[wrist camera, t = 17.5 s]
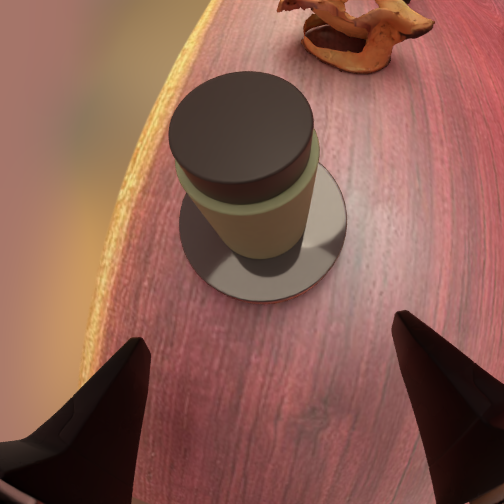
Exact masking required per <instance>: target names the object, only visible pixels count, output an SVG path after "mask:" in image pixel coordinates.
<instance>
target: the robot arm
mask: <svg viewBox="0 0 504 504" xmlns="http://www.w3.org/2000/svg"><path fill="white" fill-rule="evenodd" d="M392 337H393V341H394V345H395V349H396V353H397V358H398V362H399V366H400V370H401V374H402V377H403V380H404V383H405V386H406V389H407V392H408V395H409V398H410V401H411V404H412V408H413V411H414V414H415V417H416V421H417V424H418V428H419V431H420V435H421V439H422V442H423V446H424V450H425V454H426V458H427V462H428V466H429V471H430V475H431V480H432V484H433V489H434V494H435V499H436V504H465V503H467V502H469V504H504V384H503V383H501V382H500V381H498V380H497V379H496V378H494V377H493V376H491V375H490V374H489V373H487V372H486V371H485V370H484V369H482V368H481V367H480V366H478V365H477V364H476V363H474V362H473V361H472V360H471V359H470V358H468V357H467V356H466V355H465V354H463V353H462V352H461V351H460V350H458V349H457V348H456V347H455V346H453V345H452V344H451V343H449V342H448V341H447V340H446V339H444V338H443V337H442V336H440V335H439V334H438V333H437V332H435V331H434V330H433V329H431V328H430V327H429V326H427V325H426V324H425V323H424V322H422V321H421V320H420V319H418V318H417V317H416V316H414V315H413V314H412V313H410V312H409V311H407V310H402V311H397V312H396V313H395V316H394V320H393V324H392ZM150 363H151V353H150V351H149V349H148V347H147V345H146V343H145V341H144V340H143V338H141V337H133V338H130V339H129V340H128V341H127V342H126V343H125V344H124V345H123V346H122V347H121V348H120V349H119V350H118V351H117V352H116V353H115V354H114V355H113V356H112V357H111V358H110V359H109V360H108V361H107V362H106V363H105V364H104V365H103V366H102V367H101V368H100V369H99V370H98V371H97V372H96V373H95V374H94V375H93V376H92V377H91V378H90V379H89V380H88V381H87V382H86V383H85V384H84V385H83V386H82V387H81V388H80V389H79V390H78V391H77V392H76V394H74V396H73V397H72V398H71V399H70V400H69V401H68V402H67V403H66V404H65V405H64V406H63V407H62V408H61V409H60V410H58V411H57V412H56V413H55V414H54V415H53V416H52V417H51V418H50V419H49V420H47V421H46V422H45V423H44V424H43V425H41V426H40V427H39V428H38V429H37V430H36V431H35V432H33V433H32V434H31V435H29V436H28V437H26V438H24V439H21V440H16V441H8V442H0V504H131V500H132V492H133V488H132V487H133V482H134V475H135V467H136V460H137V453H138V447H139V440H140V434H141V428H142V422H143V417H144V411H145V406H146V400H147V395H148V386H149V374H150Z"/></svg>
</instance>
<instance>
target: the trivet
mask: <svg viewBox="0 0 504 504" xmlns="http://www.w3.org/2000/svg"><path fill="white" fill-rule="evenodd" d="M346 229H347V212H346V206H345V202H344V199H343V196H342V193H341V191H340V189H339V186H338V184H337V183H336V181H335V180H334V178H333V177H332V175H331V174H330V173H329V172H328V171H327V169H326V168H325V167H324V166H323V165H322V164H320V163H319V162H318V168H317V173H316V178H315V183H314V189H313V194H312V199H311V204H310V209H309V214H308V218H307V223H306V227H305V230H304V232H303V234H302V236H301V238H300V239H299V241H298V242H297V243H296V244H295V245H294V246H293V247H292V248H291V249H289V250H288V251H286V252H285V253H283V254H281V255H279V256H276V257H273V258H268V259H252V258H248V257H245V256H242V255H240V254H238V253H236V252H234V251H233V250H231V249H230V248H229V247H228V246H227V245H226V244H225V243H224V241H223V240H222V239H221V237H220V236H219V235H218V234H217V232H216V231H215V230H214V228H213V227H212V226H211V224H210V223H209V222H208V220H207V219H206V218H205V216H204V215H203V214H202V212H201V211H200V210H199V208H198V207H197V206H196V204H195V203H194V202H193V201H192V199H191V198H190V197H189V195H188V194H187V193H186V194H185V196H184V199H183V202H182V206H181V210H180V217H179V232H180V239H181V243H182V247H183V250H184V252H185V255H186V257H187V259H188V261H189V263H190V264H191V266H192V267H193V269H194V270H195V271H196V273H197V274H198V275H199V276H200V277H201V278H202V279H203V280H204V281H205V282H206V283H207V284H208V285H210V286H211V287H213V288H214V289H216V290H217V291H219V292H221V293H223V294H225V295H227V296H229V297H232V298H234V299H237V300H240V301H243V302H247V303H252V304H276V303H280V302H285V301H288V300H291V299H293V298H296V297H298V296H300V295H302V294H304V293H306V292H307V291H308V290H310V289H311V288H313V287H314V286H315V285H316V284H317V283H318V282H319V281H320V280H321V279H322V278H323V277H324V276H325V275H326V274H327V272H328V271H329V270H330V269H331V267H332V266H333V265H334V263H335V261H336V260H337V258H338V256H339V254H340V252H341V249H342V247H343V244H344V240H345V236H346Z"/></svg>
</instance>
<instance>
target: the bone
mask: <svg viewBox="0 0 504 504" xmlns="http://www.w3.org/2000/svg"><path fill="white" fill-rule="evenodd" d="M347 1H348V0H280V2H279V4H278V8H277V12H280V11H281V12H282V11H283V10H285V11H287V10H288V11H291V10H294V9H299V8H300V7H301V8H302V9H303V10H305V9H306V8H311V10H312V11H313V12H314V13H315V14H312V15H311V16H310V17H309V18H308V19H306V21H305V24H304V26H303V30H304V39H303V40H301V43H302V44H303V46H304V47H305V50H306V51H307V52H309V53H310V54H312V55H314V56H315V57H317V58H318V59H319V60H320V61H321V62H324V63H327V64H329V65H331V66H335V67H337V68H339V69H343V70H345V71H348V72H352V73H356V74H357V73H363V74H364V73H365V74H369V73H372V72H376V71H379V70H381V69H383V68H384V67H386V66H387V64H388V65H389V63H390V61H391V60H390V59H391V53H392V48H393V46H394V45H395V44H397V43H399V42H402V41H404V40H405V39H409V38H412V39H415V38H418V37H420V36H422V35H424V34H426V33H428V32H429V31H430V30H432V28H433V24H435V21H432V20H431V19H427V18H425V17H423V16H421V15H419V14H418V13H416V12H415V11H413V10H412V9H410V8H409V7H408V6H407V5H406V4H405V2H404V1H403V0H375V1H376V3H377V4H378V5H379V8H377V9H374V10H372V11H370V12H368V13H367V14H364V15H362V16H361V17H359V18H355V17H353V16H350V15H349V14H348V13H346V12H345V11H346V9H345V4H344V3H345V2H347ZM328 24H329V25H330V26H331V27H332V28H334V29H336V31H340V32H342V33H344V34H345V35H347V36H349V37H350V36H351V37H356V38H360V39H363V40H364V39H366V46H365V47H364V49H363V51H362V52H360V53H352V52H351V51H350V50H349V51H348V52H341V51H336V50H332V49H328V48H321V47H319V48H318V47H316V46H315V45H313V42H312V41H311V40H310V39H308V38H307V37H306V36H305V34H306V32H307V31H308V30H310V29H311V28H315V27H318V26H322V25H328ZM340 71H341V70H340ZM341 72H342V71H341Z"/></svg>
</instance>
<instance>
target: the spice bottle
mask: <svg viewBox="0 0 504 504" xmlns="http://www.w3.org/2000/svg"><path fill="white" fill-rule="evenodd" d="M169 145H170V149H171V151H172V154H173V156H174V158H175V167H176V172H177V176H178V178H179V181H180V183H181V185H182V187H183V188H184V190H185V191H186V193H187V194H188V195H189V197H190V198H191V199H192V201H193V202H194V203H195V204H196V206H197V207H198V208H199V210H200V211H201V212H202V214H203V215H204V216H205V218H206V219H207V220H208V222H209V223H210V224H211V226H212V227H213V228H214V230H215V231H216V232H217V234H218V235H219V236H220V237H221V239H222V240H223V241H224V243H225V244H226V245H227V246H228V247H229V248H230V249H231V250H233V251H234V252H236V253H238V254H240V255H242V256H245V257H248V258H252V259H268V258H273V257H276V256H279V255H281V254H283V253H285V252H286V251H288V250H289V249H291V248H292V247H293V246H294V245H295V244H296V243H297V242H298V241H299V239H300V238H301V236H302V234H303V232H304V230H305V227H306V223H307V218H308V214H309V209H310V204H311V199H312V194H313V189H314V183H315V178H316V173H317V168H318V162H319V156H320V147H319V140H318V137H317V134H316V131H315V129H314V119H313V113H312V110H311V107H310V105H309V103H308V101H307V99H306V98H305V97H304V95H303V94H302V93H301V92H300V91H299V90H298V89H297V88H296V87H295V86H294V85H292V84H291V83H289V82H288V81H286V80H284V79H282V78H280V77H277V76H274V75H271V74H268V73H262V72H253V71H243V72H234V73H229V74H224V75H221V76H218V77H215V78H213V79H210V80H208V81H206V82H204V83H203V84H201V85H199V86H198V87H196V88H195V89H194V90H192V91H191V92H190V93H189V94H188V95H187V96H186V97H185V98H184V99H183V100H182V101H181V103H180V104H179V105H178V107H177V108H176V110H175V112H174V114H173V116H172V119H171V122H170V126H169Z"/></svg>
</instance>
